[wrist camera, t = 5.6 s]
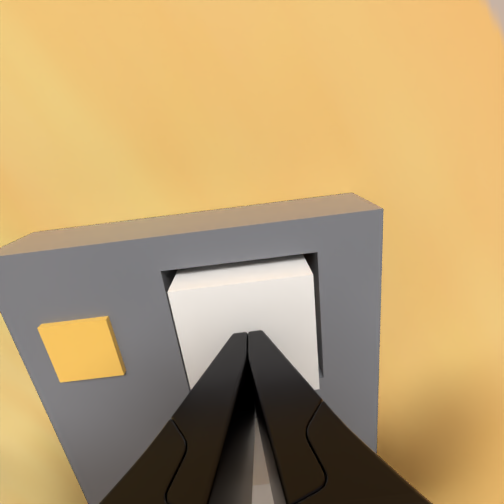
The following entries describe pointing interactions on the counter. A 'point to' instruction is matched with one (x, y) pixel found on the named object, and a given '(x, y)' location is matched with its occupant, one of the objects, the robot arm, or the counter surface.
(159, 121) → the counter surface
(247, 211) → the keyguard plate
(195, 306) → the key
